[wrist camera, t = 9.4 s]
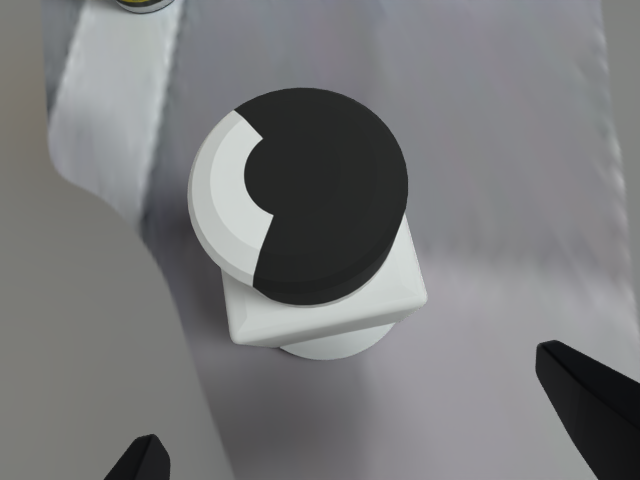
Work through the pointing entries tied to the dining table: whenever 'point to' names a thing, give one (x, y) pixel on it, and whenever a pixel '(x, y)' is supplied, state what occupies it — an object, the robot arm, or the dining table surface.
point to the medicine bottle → (305, 218)
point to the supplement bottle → (143, 5)
